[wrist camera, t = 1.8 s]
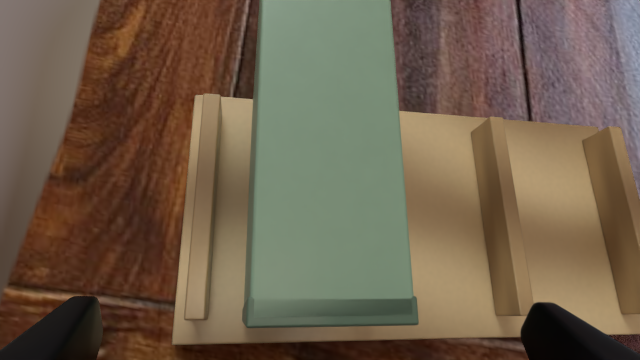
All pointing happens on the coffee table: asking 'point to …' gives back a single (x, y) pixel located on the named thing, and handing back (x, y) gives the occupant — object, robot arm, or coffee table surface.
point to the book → (326, 171)
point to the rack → (438, 228)
